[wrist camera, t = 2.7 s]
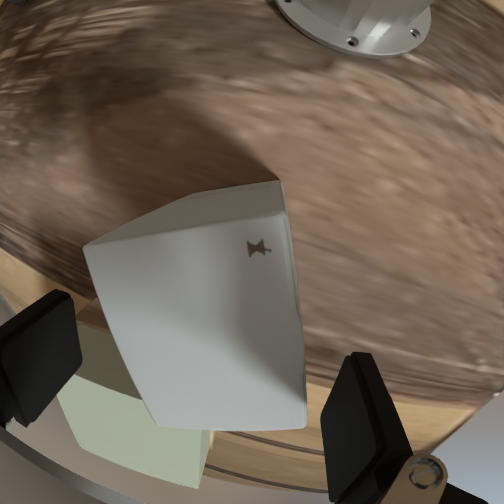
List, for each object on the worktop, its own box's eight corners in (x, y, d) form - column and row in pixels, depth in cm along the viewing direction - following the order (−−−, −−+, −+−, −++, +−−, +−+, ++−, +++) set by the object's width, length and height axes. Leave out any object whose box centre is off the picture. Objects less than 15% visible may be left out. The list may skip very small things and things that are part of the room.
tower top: (81, 324, 19) (44, 359, 14) (218, 362, 18) (202, 416, 14) (102, 412, 22) (80, 447, 18) (209, 446, 22) (198, 488, 17)
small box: (192, 192, 20) (75, 241, 8) (282, 178, 19) (292, 205, 7) (213, 297, 22) (154, 429, 10) (296, 288, 21) (311, 430, 9)
